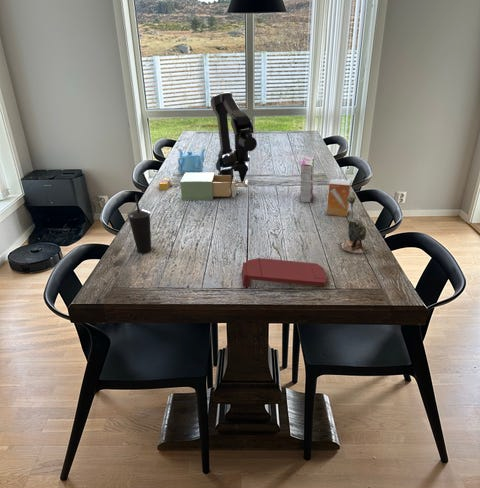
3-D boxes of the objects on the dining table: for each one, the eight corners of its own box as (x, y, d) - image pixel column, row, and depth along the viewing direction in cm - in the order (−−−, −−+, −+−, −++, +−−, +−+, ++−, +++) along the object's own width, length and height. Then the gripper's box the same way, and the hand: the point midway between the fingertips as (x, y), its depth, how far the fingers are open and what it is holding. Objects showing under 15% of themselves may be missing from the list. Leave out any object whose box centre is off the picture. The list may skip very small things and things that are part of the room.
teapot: (174, 175, 234) (172, 155, 229) (180, 166, 247) (178, 147, 242) (202, 175, 233) (201, 155, 228) (206, 166, 246) (205, 147, 241)
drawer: (248, 188, 210) (248, 174, 207) (247, 197, 200) (247, 182, 196) (209, 188, 211) (208, 174, 208) (206, 197, 201) (205, 182, 197)
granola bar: (170, 184, 221) (170, 178, 219) (167, 189, 214) (167, 183, 212) (162, 184, 221) (161, 178, 220) (159, 189, 214) (158, 183, 213)
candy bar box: (301, 193, 204) (303, 157, 196) (312, 194, 203) (314, 157, 195) (299, 202, 195) (301, 164, 186) (311, 203, 194) (313, 164, 185)
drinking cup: (145, 257, 154) (136, 200, 143) (128, 252, 157) (119, 197, 147) (159, 248, 159) (152, 193, 149) (143, 243, 163) (135, 190, 152)
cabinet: (215, 190, 212) (214, 172, 208) (212, 199, 201) (211, 181, 196) (186, 190, 213) (185, 172, 209) (181, 200, 201) (180, 181, 197)
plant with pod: (346, 258, 149) (353, 200, 139) (337, 243, 159) (343, 188, 148) (370, 256, 149) (378, 198, 139) (360, 242, 159) (367, 187, 149)
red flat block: (317, 277, 146) (241, 270, 143) (321, 263, 143) (243, 256, 141) (325, 296, 135) (243, 289, 133) (329, 282, 133) (245, 275, 130)
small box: (326, 215, 182) (328, 183, 175) (328, 209, 187) (331, 178, 180) (346, 216, 179) (350, 184, 173) (348, 211, 185) (351, 180, 178)
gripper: (224, 141, 203) (226, 175, 211) (220, 151, 187) (222, 188, 195) (249, 140, 202) (249, 175, 210) (247, 151, 186) (248, 188, 194)
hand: (242, 181), depth 202 cm, fingers closed
